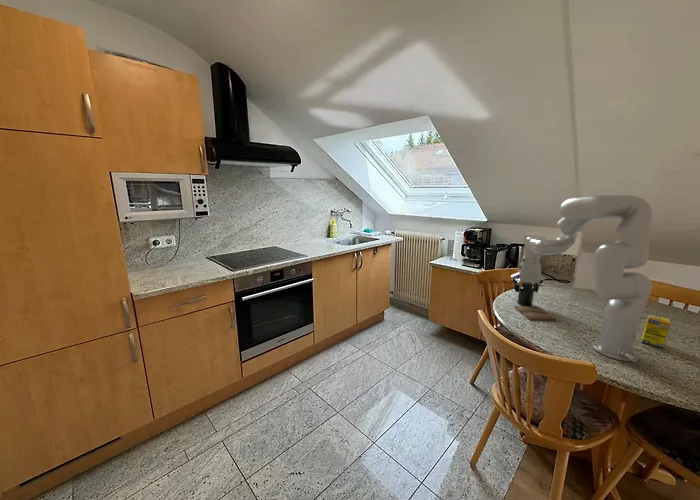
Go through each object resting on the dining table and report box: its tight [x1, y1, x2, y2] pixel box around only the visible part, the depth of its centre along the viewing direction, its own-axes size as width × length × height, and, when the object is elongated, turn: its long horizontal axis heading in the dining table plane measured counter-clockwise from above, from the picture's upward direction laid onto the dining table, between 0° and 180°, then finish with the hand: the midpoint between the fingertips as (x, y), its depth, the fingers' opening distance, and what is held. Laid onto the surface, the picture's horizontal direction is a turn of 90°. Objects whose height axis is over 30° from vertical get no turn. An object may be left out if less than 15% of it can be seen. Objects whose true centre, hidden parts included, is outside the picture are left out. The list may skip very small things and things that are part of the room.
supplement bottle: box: [517, 282, 535, 306], centre depth 149 cm, size 7×7×12 cm
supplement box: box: [641, 313, 671, 350], centre depth 112 cm, size 6×6×11 cm
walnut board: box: [513, 305, 557, 322], centre depth 139 cm, size 14×12×1 cm
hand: (525, 291), depth 149 cm, fingers open, 9 cm apart
